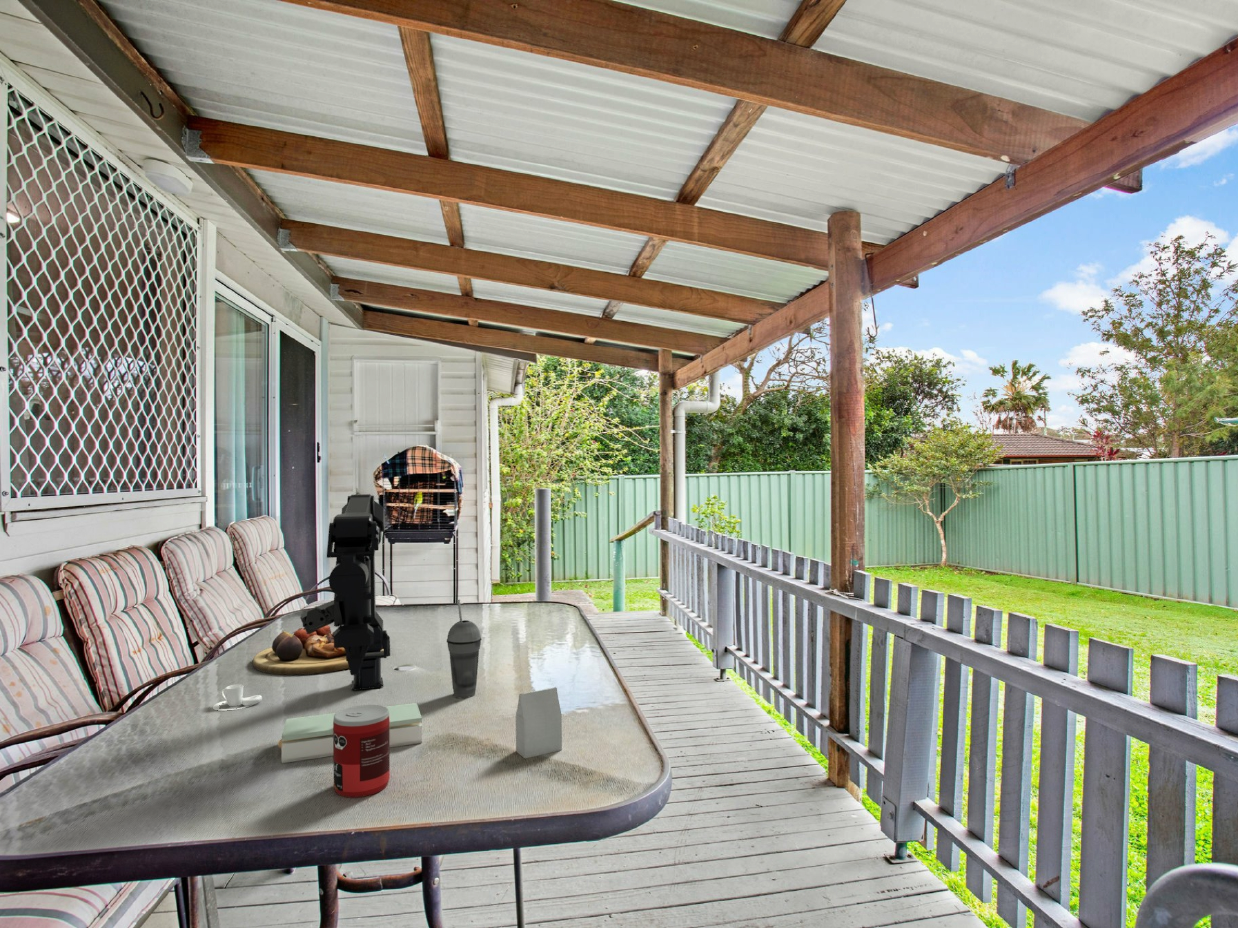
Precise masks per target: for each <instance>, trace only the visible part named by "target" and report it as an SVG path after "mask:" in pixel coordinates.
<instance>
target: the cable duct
mask: <svg viewBox="0 0 1238 928" xmlns="http://www.w3.org/2000/svg"><path fill="white" fill-rule="evenodd" d="M422 743H423V724H422V723H420V724H415V725H407V726H400V727H393V728H390V748H395V747H402V746H410V745H411V746H412V745H416V744H422ZM326 757H333V736H326V737H319V738H312V739H304V740H297V741H289V742H282V749H281V764H285V763H292V762H301V761H307V760H313V759H321V758H326Z"/></svg>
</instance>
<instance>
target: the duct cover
mask: <svg viewBox="0 0 1238 928" xmlns="http://www.w3.org/2000/svg"><path fill="white" fill-rule="evenodd" d="M385 707H386V708H388V709H389V721H390V727H392V726H399V725H406V724H414V723H420V724H422V723H423V720H422V719H423V718H422V715H421V712H420V708H419V706H418V703H417V702H413V703H406V704H405V703H404V704H398V705H397V704H396V705H389V706H385ZM336 713H337V712H333V713H323V714H316V715H308V716H302V717H301V716H300V717H291V718H286V720H285V722H284V723H285V724H284V727H283V731H282V734H281V739H282V741H288V740H295V739H303V738H310V737H318V736H325V735H332V734H333V720H334V715H335V714H336Z"/></svg>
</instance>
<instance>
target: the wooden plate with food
mask: <svg viewBox="0 0 1238 928" xmlns="http://www.w3.org/2000/svg"><path fill="white" fill-rule="evenodd" d="M381 651H384V649H382V650H381ZM252 665H253V667H254V668H255V669H256V670H257V671H260V672H262V673H266V674H273V675H284V676H286V675H288V676H292V675H293V676H294V675H296V676H299V675H313V674H314V675H315V674H323V673H325V674H326V673H330V672H331V673H332V672H338V671H343V670H348V669H349V665H348V661H346V652H345V649H344V648H334V631H333V632H332V630H331V626H330V624H329V625H327V626H324V627H322V628H320V629H317V630H316V631H315V632H313V633H311V634H307V633H306V630H305V628H304V627H303V628H300V627H299V628H298V629H297V630H295V631H293V633H291V632H287V631H286V630H283V631H282V632H280V633H279V634H278V635H277V636H276V637H275V638H274V639H273V641H272V643H271V647H267V648H266V649H263V650H262V651H260V652H258V653H257V654H256V655H254V657H253V660H252ZM349 670H350V669H349Z"/></svg>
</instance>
